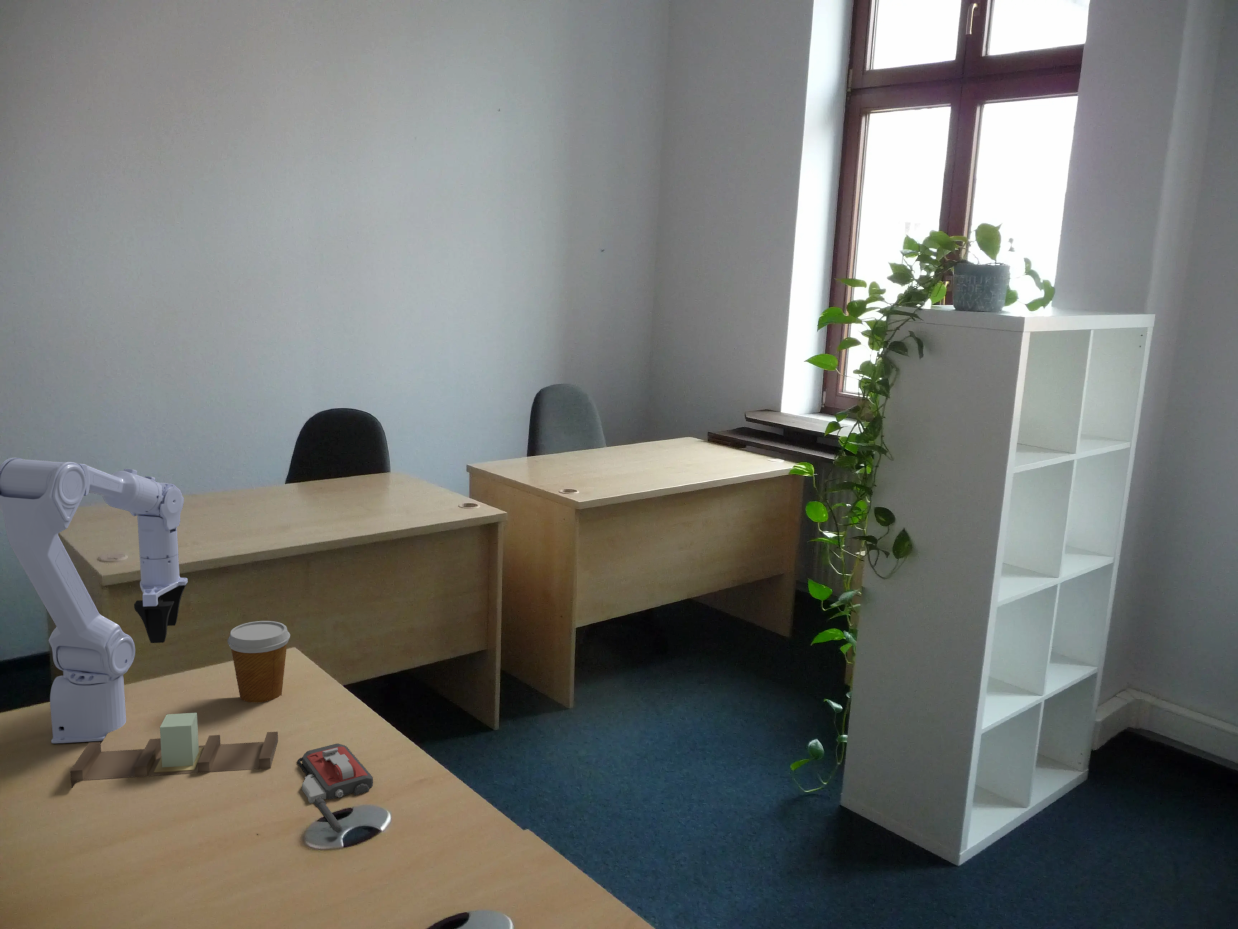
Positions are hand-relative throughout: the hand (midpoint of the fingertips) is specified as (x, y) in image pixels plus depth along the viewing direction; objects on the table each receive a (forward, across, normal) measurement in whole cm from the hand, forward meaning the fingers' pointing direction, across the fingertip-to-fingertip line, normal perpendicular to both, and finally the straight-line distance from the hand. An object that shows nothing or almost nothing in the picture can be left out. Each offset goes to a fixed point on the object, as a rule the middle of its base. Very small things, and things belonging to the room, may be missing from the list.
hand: (163, 633), depth 160 cm
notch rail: (+9, -28, -8) cm, 31 cm away
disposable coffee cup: (+10, -7, -16) cm, 20 cm away
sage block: (+8, -28, -8) cm, 30 cm away
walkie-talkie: (+10, -38, -30) cm, 50 cm away
